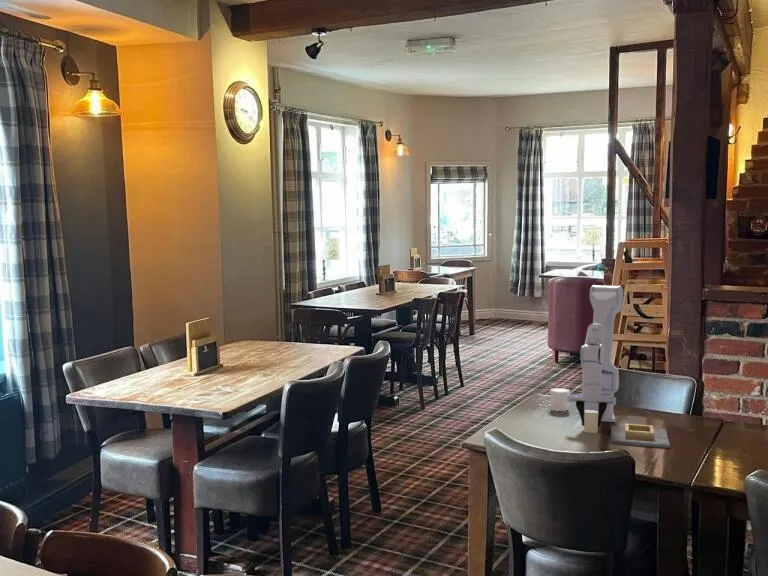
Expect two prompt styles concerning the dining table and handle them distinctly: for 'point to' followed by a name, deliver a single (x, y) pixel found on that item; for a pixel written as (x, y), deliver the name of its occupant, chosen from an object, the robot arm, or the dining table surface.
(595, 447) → the dining table surface
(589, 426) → the cream block
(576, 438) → the dining table surface
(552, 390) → the white cylinder
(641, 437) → the socket plate
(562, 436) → the dining table surface
